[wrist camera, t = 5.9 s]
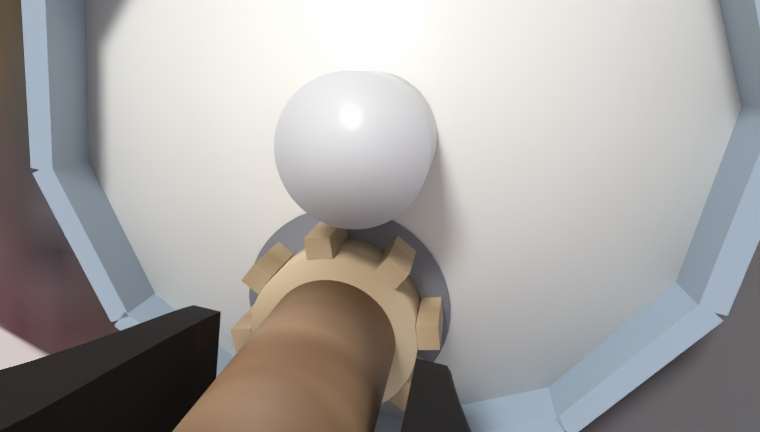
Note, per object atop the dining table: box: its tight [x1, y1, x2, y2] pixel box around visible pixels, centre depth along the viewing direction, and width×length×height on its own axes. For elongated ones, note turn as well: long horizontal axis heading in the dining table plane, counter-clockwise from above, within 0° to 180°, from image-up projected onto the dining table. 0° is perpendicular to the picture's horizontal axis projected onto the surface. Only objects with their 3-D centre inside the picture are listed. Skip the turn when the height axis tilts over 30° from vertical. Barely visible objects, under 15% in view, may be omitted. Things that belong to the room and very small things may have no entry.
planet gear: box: [172, 221, 443, 432], centre depth 10 cm, size 5×5×6 cm
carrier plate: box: [21, 0, 760, 432], centre depth 11 cm, size 17×17×4 cm
